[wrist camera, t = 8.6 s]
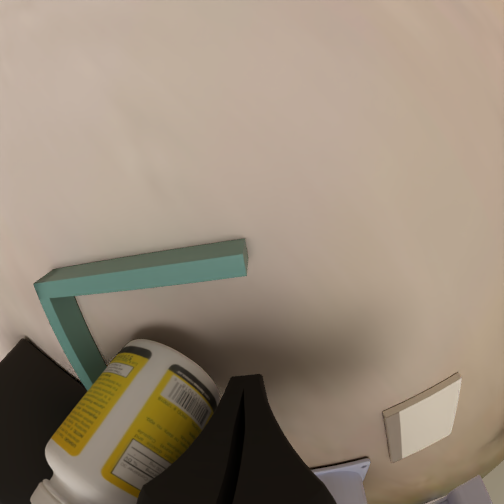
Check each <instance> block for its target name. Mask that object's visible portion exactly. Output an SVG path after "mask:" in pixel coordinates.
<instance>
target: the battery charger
mask: <svg viewBox="0 0 504 504" xmlns="http://www.w3.org/2000/svg"><path fill="white" fill-rule="evenodd" d="M86 393H87V390H86V388H85V387H83V386H82V385H81V384H80V383H78V382H77V381H76V380H74V379H73V378H72V377H71V376H69V375H68V374H67V373H66V372H64V371H63V370H62V369H61V368H59V367H58V366H57V365H56V364H55V363H53V362H52V361H51V360H50V359H48V358H47V357H46V356H45V355H44V354H42V353H41V352H40V351H39V350H38V349H36V348H35V347H34V346H33V345H32V344H30V343H29V342H28V341H27V340H26V339H21V340H20V341H19V342H18V344H17V345H16V346H15V347H14V348H13V349H12V350H11V351H10V352H9V353H8V354H7V356H6V357H5V358H4V359H3V360H2V361H1V362H0V504H31V501H30V498H31V496H32V494H33V493H34V491H35V490H36V488H37V487H38V485H39V483H40V482H43V480H44V479H48V480H50V479H51V478H52V476H53V470H52V468H51V467H50V466H49V464H48V462H47V460H46V456H45V448H46V445H47V443H48V442H49V440H50V439H51V437H52V436H53V434H54V433H55V432H56V431H57V429H58V428H59V427H60V425H61V424H62V423H63V422H64V420H65V419H66V418H67V416H68V415H69V414H70V413H71V411H72V410H73V409H74V408H75V406H76V405H77V404H78V403H79V401H80V400H81V399H82V398H83V396H84V395H85V394H86Z"/></svg>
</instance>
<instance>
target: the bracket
mask: <svg viewBox="0 0 504 504" xmlns="http://www.w3.org/2000/svg"><path fill="white" fill-rule="evenodd" d="M247 266H248V254H247V248H246V242H245V239H238V240H232V241H225V242H218V243H212V244H205V245H199V246H192V247H186V248H179V249H173V250H166V251H160V252H154V253H148V254H141V255H135V256H129V257H123V258H117V259H111V260H105V261H99V262H93V263H87V264H81V265H75V266H70V267H64V268H58V269H53V270H52V271H50V272H49V273H48V274H46V275H45V276H43V277H42V278H41V279H39V280H38V281H36V282H35V283H34V287H35V290H36V292H37V295H38V297H39V300H40V302H41V304H42V307H43V309H44V311H45V314H46V316H47V318H48V320H49V322H50V325H51V327H52V329H53V331H54V333H55V335H56V337H57V339H58V341H59V343H60V345H61V347H62V349H63V350H64V352H65V354H66V356H67V358H68V360H69V361H70V363H71V365H72V367H73V368H74V370H75V372H76V373H77V375H78V377H79V378H80V380H81V382H82V383H83V385H84V386H85V388H86V390H87V391H88V390H89V389H90V388H91V386H92V385H93V384H94V383H95V381H96V380H97V379H98V378H99V376H100V375H101V374H102V373H103V371H104V370H105V369H106V368H107V366H106V365H105V363H104V361H103V359H102V357H101V355H100V353H99V351H98V349H97V347H96V345H95V343H94V341H93V339H92V337H91V335H90V332H89V330H88V328H87V326H86V324H85V321H84V319H83V317H82V314H81V312H80V310H79V307H78V305H77V302H76V300H75V297H74V296H79V295H89V294H99V293H109V292H118V291H127V290H136V289H145V288H154V287H163V286H171V285H179V284H187V283H196V282H203V281H211V280H219V279H227V278H234V277H242V276H247Z"/></svg>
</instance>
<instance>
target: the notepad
mask: <svg viewBox="0 0 504 504" xmlns="http://www.w3.org/2000/svg"><path fill="white" fill-rule="evenodd" d="M461 381H462V377H461V376H460V374H459V373H456V374H454V375H453V376H451V377H450V378H448V379H446V380H444V381H443V382H441V383H439V384H437V385H436V386H434V387H432V388H430V389H428V390H427V391H425V392H423V393H421V394H419V395H417V396H415V397H413V398H411V399H409V400H407V401H405V402H403V403H401V404H399V405H396V406H394V407H392V408H390V409H388V410H385V411H383V416H384V422H385V428H386V434H387V441H388V447H389V454H390V460H391V463H394V462H397V461H399V460H401V459H403V458H405V457H407V456H409V455H411V454H413V453H416V452H418V451H420V450H422V449H424V448H426V447H428V446H430V445H431V444H433V443H435V442H437V441H439V440H441V439H442V438H444V437H446V436H448V435H450V434H451V431H452V427H453V423H454V418H455V414H456V409H457V404H458V399H459V393H460V387H461Z"/></svg>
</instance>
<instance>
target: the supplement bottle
mask: <svg viewBox="0 0 504 504" xmlns="http://www.w3.org/2000/svg"><path fill="white" fill-rule="evenodd" d="M219 401H220V394H219V391H218V388H217V386H216V384H215V383H214V381H213V380H212V379H211V377H210V376H209V375H208V374H207V373H206V372H205V371H204V370H203V369H202V368H201V367H200V366H199V365H198V364H196V363H195V362H194V361H192V360H191V359H189V358H188V357H186V356H185V355H183V354H182V353H180V352H178V351H176V350H175V349H173V348H171V347H168V346H166V345H164V344H161V343H158V342H155V341H152V340H147V339H136V340H132V341H130V342H129V343H128V344H126V345H125V346H124V347H123V349H122V350H121V351H120V352H119V353H118V354H117V356H116V357H115V358H114V359H113V360H112V361H111V362H110V364H109V365H108V366H107V368H106V369H105V370H104V371H103V373H102V374H101V375H100V376H99V378H98V379H97V380H96V381H95V383H94V384H93V385H92V386H91V388H90V389H89V390H88V391H87V393H86V394H85V395H84V396H83V398H82V399H81V400H80V401H79V403H78V404H77V405H76V406H75V408H74V409H73V410H72V411H71V413H70V414H69V415H68V416H67V418H66V419H65V420H64V422H63V423H62V424H61V425H60V427H59V428H58V429H57V431H56V432H55V433H54V434H53V436H52V437H51V439H50V440H49V442H48V443H47V445H46V448H45V456H46V460H47V462H48V464H49V466H50V467H51V468H52V470H53V476H52V478H51V479H50V480H48V479H44V480H43V482H40V483H39V485H38V487H37V488H36V490H35V491H34V493H33V494H32V496H31V498H30V501H31V504H136V503H137V499H138V496H139V493H140V491H141V489H142V486H143V485H144V484H146V483H147V482H149V481H150V480H152V479H153V478H155V477H156V476H158V475H159V474H160V473H162V472H163V471H164V470H165V469H167V468H168V467H169V466H170V465H171V464H172V463H173V462H175V461H176V460H177V459H178V458H179V457H180V456H181V455H182V454H183V453H184V452H185V451H186V450H187V449H188V447H189V446H190V445H191V444H192V443H193V442H194V440H195V439H196V438H197V437H198V435H199V434H200V433H201V431H202V430H203V429H204V427H205V426H206V424H207V423H208V421H209V419H210V418H211V416H212V415H213V413H214V411H215V409H216V408H217V406H218V404H219Z"/></svg>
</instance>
